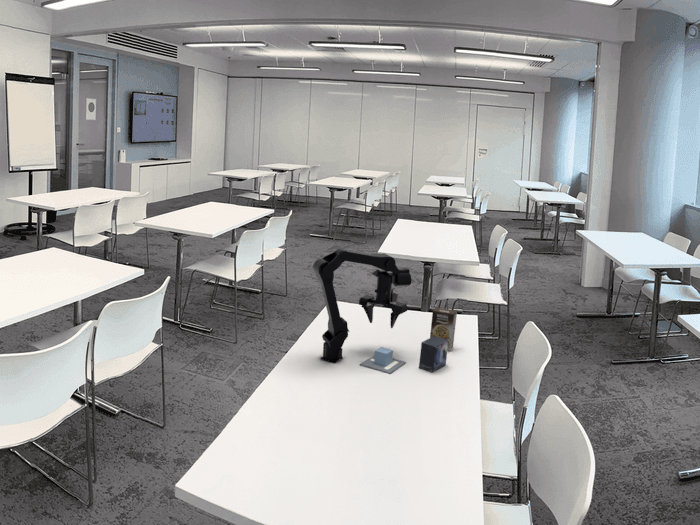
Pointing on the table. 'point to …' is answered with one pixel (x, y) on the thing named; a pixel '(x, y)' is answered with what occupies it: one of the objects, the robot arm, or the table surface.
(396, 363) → the letter card
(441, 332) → the coffee box
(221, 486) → the table surface
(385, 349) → the blue cube
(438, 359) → the small box
